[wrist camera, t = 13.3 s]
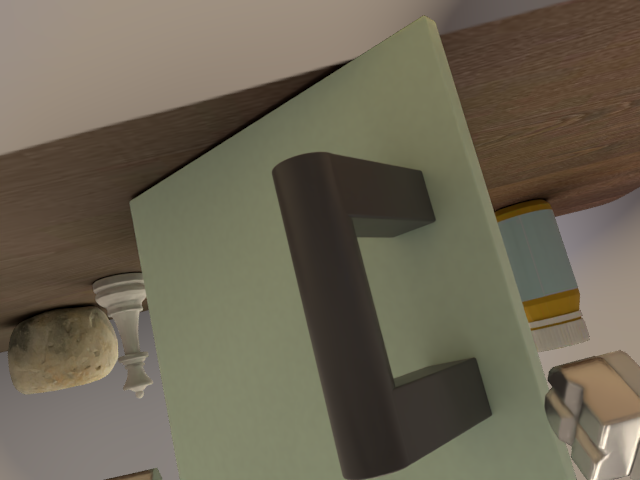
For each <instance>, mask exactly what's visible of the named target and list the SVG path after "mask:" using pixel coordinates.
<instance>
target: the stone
mask: <svg viewBox="0 0 640 480" xmlns="http://www.w3.org/2000/svg"><path fill="white" fill-rule="evenodd" d="M117 359H118V342H117V338H116V335H115V332H114V329H113V327H112V324H111V323H110V321H109V320H108V318H107V316H106V314H105V313H104V312H103V311H102V310H101V309H99V308H97V307H76V308H64V309H57V310H52V311H48V312H44V313H42V314H39V315H36V316H34V317H32V318H29V319H27V320H25V321H23V322H21V323H20V324H18V325H17V326H16V327H15V328H14V329H13V332H12V335H11V338H10V342H9V349H8V361H9V371H10V375H11V379H12V382H13V385H14V386H15V388H16V389H17V390H18V391H19V392H21V393H23V394H34V393H41V392H47V391H54V390H61V389H64V388H70V387H74V386H79V385H83V384H87V383H90V382H93V381H96V380H99V379H101V378H103V377H105V376H106V375H107V374H109V373H110V372H111V370H112V369H113V367H114V365H115V363H116V362H117Z"/></svg>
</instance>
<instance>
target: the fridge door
mask: <svg viewBox="0 0 640 480" xmlns="http://www.w3.org/2000/svg"><path fill="white" fill-rule="evenodd" d="M129 203H130V208H131V214H132V219H133V225H134V230H135V236H136V241H137V247H138V252H139V258H140V263H141V269H142V274H143V280H144V285H145V291H146V296H147V302H148V307H149V313H150V318H151V324H152V329H153V335H154V340H155V346H156V351H157V357H158V362H159V368H160V373H161V379H162V384H163V390H164V395H165V401H166V406H167V411H168V417H169V423H170V428H171V434H172V439H173V445H174V450H175V455H176V461H177V467H178V472H179V478H180V480H577V479H576V475H575V472H574V469H573V466H572V462H571V459H570V456H569V453H568V449H567V446H566V443H565V442H563V441H561V440H559V439H558V437H557V436H556V434H555V433H554V431H553V430H552V428H551V426H550V424H549V422H548V420H547V416H546V412H545V408H544V404H545V395H546V394H547V393H548V391H549V388H548V385H547V382H546V378H545V375H544V373H543V369H542V365H541V362H540V359H539V356H538V352H537V349H536V346H535V343H534V339H533V336H532V333H531V330H530V326H529V323H528V320H527V317H526V314H525V310H524V307H523V304H522V301H521V297H520V294H519V291H518V288H517V284H516V281H515V278H514V275H513V272H512V268H511V265H510V262H509V259H508V255H507V252H506V249H505V246H504V242H503V239H502V236H501V233H500V230H499V226H498V223H497V220H496V217H495V213H494V210H493V207H492V204H491V200H490V197H489V194H488V191H487V188H486V184H485V181H484V178H483V175H482V171H481V168H480V165H479V162H478V158H477V155H476V152H475V149H474V146H473V142H472V139H471V136H470V133H469V129H468V126H467V123H466V120H465V116H464V113H463V110H462V107H461V104H460V100H459V97H458V94H457V91H456V87H455V84H454V81H453V78H452V74H451V71H450V68H449V65H448V62H447V58H446V55H445V52H444V49H443V45H442V42H441V39H440V36H439V32H438V30H437V26H436V23H435V22H434V21H433V20H431V19H430V18H428V17H427V16H425V15H424V16H422V17H420V18H419V19H417V20H416V21H414V22H412V23H411V24H409V25H408V26H406V27H404V28H403V29H401V30H400V31H398V32H397V33H395V34H393V35H392V36H390V37H389V38H387V39H386V40H384V41H382V42H381V43H379V44H378V45H376V46H375V47H373V48H372V49H370V50H368V51H367V52H365V53H363V54H362V55H360V56H359V57H357V58H356V59H354V60H352V61H351V62H349V63H348V64H346V65H344V66H343V67H341V68H340V69H338V70H337V71H335V72H333V73H332V74H330V75H329V76H327V77H326V78H324V79H322V80H321V81H319V82H318V83H316V84H314V85H313V86H311V87H310V88H308V89H307V90H305V91H303V92H302V93H300V94H299V95H297V96H295V97H294V98H292V99H291V100H289V101H288V102H286V103H284V104H283V105H281V106H280V107H278V108H277V109H275V110H273V111H272V112H270V113H269V114H267V115H265V116H264V117H262V118H261V119H259V120H258V121H256V122H254V123H253V124H251V125H250V126H248V127H247V128H245V129H243V130H242V131H240V132H239V133H237V134H235V135H234V136H232V137H231V138H229V139H228V140H226V141H224V142H223V143H221V144H220V145H218V146H217V147H215V148H213V149H212V150H210V151H209V152H207V153H205V154H204V155H202V156H201V157H199V158H198V159H196V160H194V161H193V162H191V163H190V164H188V165H186V166H185V167H183V168H182V169H180V170H179V171H177V172H175V173H174V174H172V175H171V176H169V177H168V178H166V179H164V180H163V181H161V182H160V183H158V184H156V185H155V186H153V187H152V188H150V189H149V190H147V191H145V192H144V193H142V194H141V195H139V196H138V197H136V198H134V199H133V200H131V201H130V202H129Z"/></svg>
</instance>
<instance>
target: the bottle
mask: <svg viewBox="0 0 640 480" xmlns="http://www.w3.org/2000/svg"><path fill="white" fill-rule="evenodd" d="M494 213H495V217H496V220H497V223H498V226H499V230H500V233H501V236H502V239H503V242H504V246H505V249H506V252H507V255H508V259H509V262H510V265H511V268H512V272H513V275H514V278H515V281H516V284H517V288H518V291H519V294H520V297H521V301H522V304H523V307H524V310H525V314H526V317H527V320H528V323H529V326H530V330H531V333H532V336H533V339H534V343H535V346H536V349H537V352H542V351H548V350H553V349H558V348H563V347H567V346H571V345H575V344H579V343H582V342H585V341H588V340H589V337H590V336H589V333H588V330H587V327H586V324H585V321H584V320H583V318H581V316H582V313H581V310H579V302H580V293H579V290H578V286H577V283H576V280H575V277H574V274H573V271H572V268H571V265H570V262H569V259H568V256H567V253H566V250H565V247H564V244H563V241H562V238H561V235H560V232H559V229H558V226H557V223H556V219H555V216H554V213H553V210H552V208H551V205H550V204H549V203H547V202H546V201H544V200H540V199H539V200H532V201H527V202H523V203H519V204H515V205H512V206H509V207H506V208H504V209H501V210H498V211H496V212H494Z"/></svg>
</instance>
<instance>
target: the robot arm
mask: <svg viewBox="0 0 640 480" xmlns="http://www.w3.org/2000/svg"><path fill="white" fill-rule="evenodd" d="M548 382H549V383H550V384H551V385H552V388H551V389H550V390H549V391H548V393H547V394H546V395H545V404H544V408H545V412H546V416H547V420H548V422H549V424H550V426H551V428H552V430H553V431H554V433H555V434H556V436H557V437H558V439H559V440H561V441H563V442H565V443H567V444H568V445H570V446H572V454H571V458H572V459H573V461H574V462H575V464H576V465H577V466H578V468H579V469H580V471H581V472H582V474H583V475H584V476H585V478H586V479H587V480H614V479H618V478H622V477H626V476H629V475H631V476H630V478H631V479H633V480H640V367H639V365H637V363H636V362H635V361H634V360H633V359H632V358H631V357H630V356H629V355H628V354H627V353H625V352H623V351H621V350H619V351H615V352H610V353H607V354H603V355H599V356H593V357H589V358H585V359H582V360H578V361H574V362H570V363H566V364H563V365H559V366H555V367H553V368H552V369H551V370H550V371H549V375H548ZM106 480H162V477H161V475H160V473H159V471H158V469H157V468H155V469H150V470H146V471H142V472H137V473H132V474H128V475H123V476H119V477H115V478H110V479H106Z"/></svg>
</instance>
